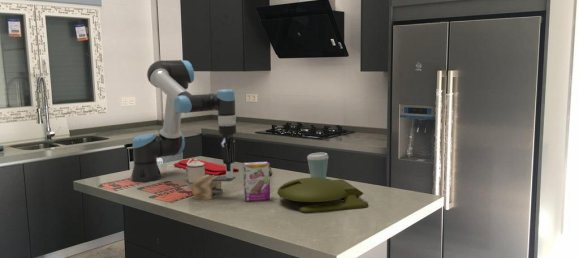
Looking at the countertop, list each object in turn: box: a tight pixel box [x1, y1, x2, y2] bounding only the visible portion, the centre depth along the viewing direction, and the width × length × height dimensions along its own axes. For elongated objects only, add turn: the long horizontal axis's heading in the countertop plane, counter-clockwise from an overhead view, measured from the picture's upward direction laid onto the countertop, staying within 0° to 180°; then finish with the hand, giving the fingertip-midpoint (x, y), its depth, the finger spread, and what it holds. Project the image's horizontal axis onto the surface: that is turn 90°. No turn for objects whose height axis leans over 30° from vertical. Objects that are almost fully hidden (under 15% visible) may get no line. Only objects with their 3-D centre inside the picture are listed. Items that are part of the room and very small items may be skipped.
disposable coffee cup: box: [306, 151, 329, 179], centre depth 239 cm, size 11×11×15 cm
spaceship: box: [277, 177, 369, 214], centre depth 209 cm, size 35×31×10 cm
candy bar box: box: [242, 161, 271, 203], centre depth 213 cm, size 11×5×16 cm, turn 102°
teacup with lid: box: [185, 158, 206, 184], centre depth 250 cm, size 12×9×12 cm
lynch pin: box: [191, 185, 224, 197], centre depth 219 cm, size 13×5×5 cm, turn 75°
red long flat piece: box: [173, 158, 240, 176], centre depth 279 cm, size 16×41×4 cm, turn 47°
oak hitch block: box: [192, 174, 222, 201], centre depth 221 cm, size 8×12×8 cm, turn 165°
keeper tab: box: [212, 175, 236, 182], centre depth 217 cm, size 9×6×1 cm
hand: (229, 177), depth 216 cm, fingers closed
